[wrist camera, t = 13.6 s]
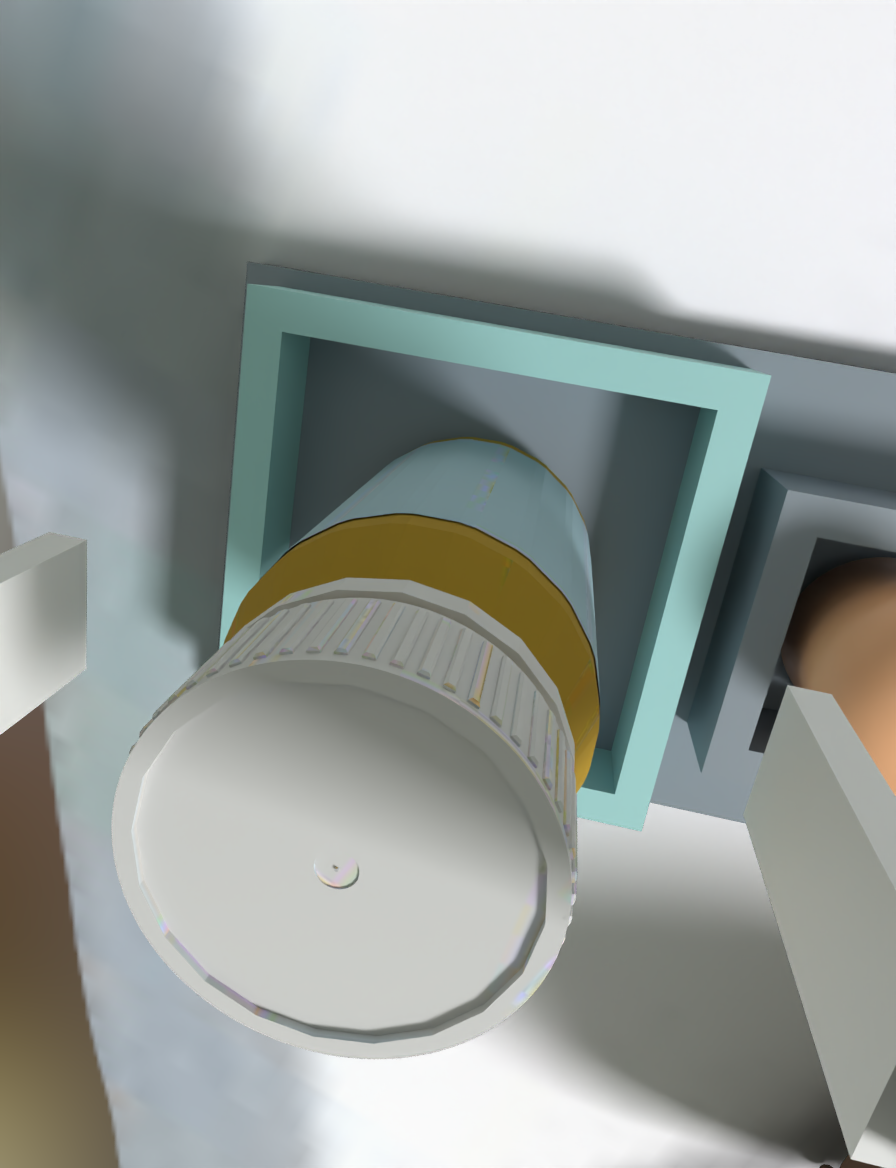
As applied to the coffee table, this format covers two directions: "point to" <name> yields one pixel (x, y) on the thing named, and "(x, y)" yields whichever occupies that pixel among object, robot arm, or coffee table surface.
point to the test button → (851, 650)
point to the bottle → (380, 766)
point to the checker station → (587, 492)
